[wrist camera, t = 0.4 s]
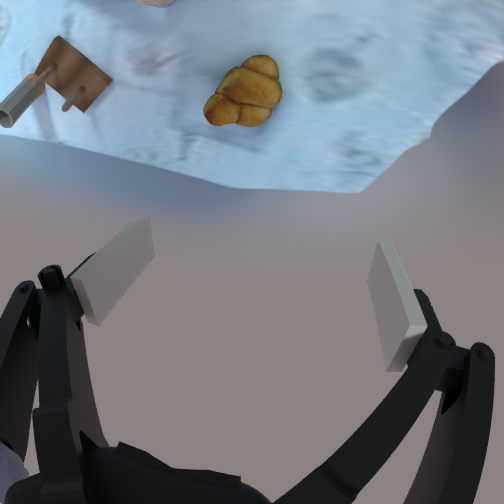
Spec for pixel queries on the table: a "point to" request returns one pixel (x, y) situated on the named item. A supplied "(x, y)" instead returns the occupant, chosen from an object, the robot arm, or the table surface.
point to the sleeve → (19, 101)
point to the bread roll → (246, 94)
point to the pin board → (71, 75)
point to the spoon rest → (157, 2)
